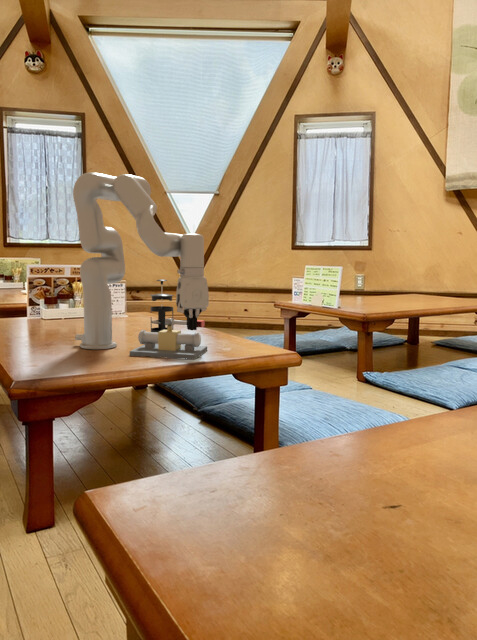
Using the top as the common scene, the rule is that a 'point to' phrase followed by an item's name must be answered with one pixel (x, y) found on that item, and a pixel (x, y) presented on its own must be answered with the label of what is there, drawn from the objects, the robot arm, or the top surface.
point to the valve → (169, 344)
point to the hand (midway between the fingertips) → (191, 329)
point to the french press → (161, 310)
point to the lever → (183, 322)
